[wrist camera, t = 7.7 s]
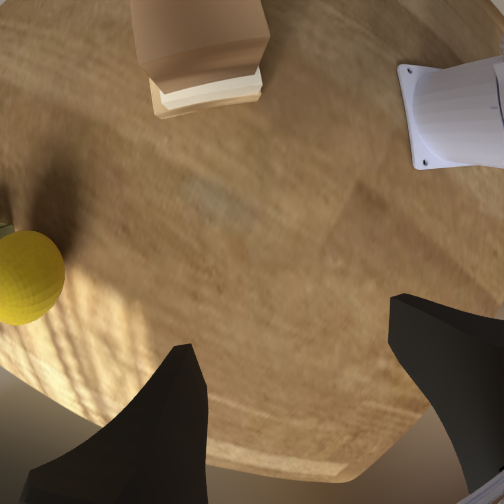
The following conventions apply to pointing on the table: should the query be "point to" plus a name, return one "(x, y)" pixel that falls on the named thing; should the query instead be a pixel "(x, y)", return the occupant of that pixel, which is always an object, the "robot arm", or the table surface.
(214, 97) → the cream block
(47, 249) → the lemon
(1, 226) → the medication box
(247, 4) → the walnut block
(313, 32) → the table surface
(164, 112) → the oak base block
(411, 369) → the robot arm
